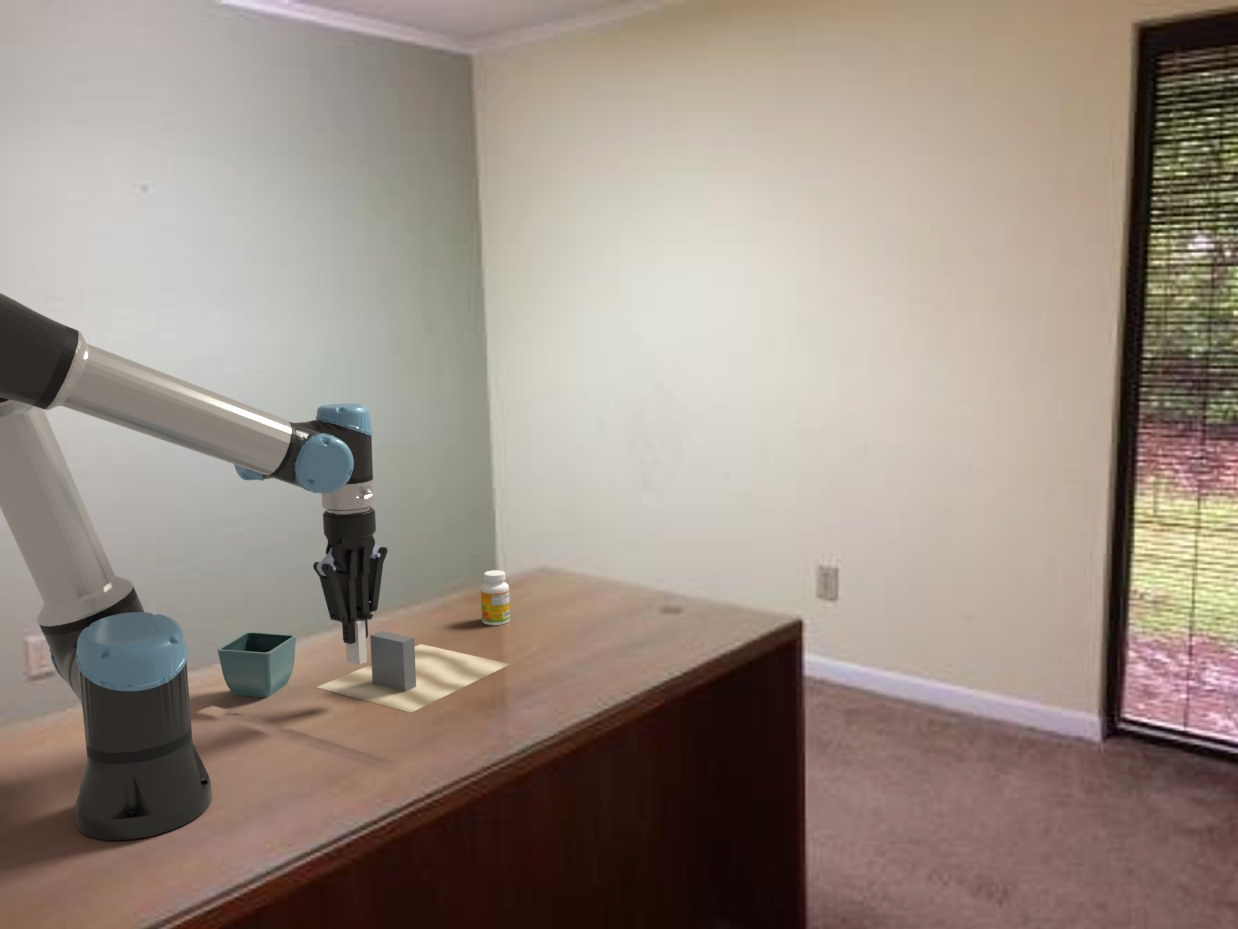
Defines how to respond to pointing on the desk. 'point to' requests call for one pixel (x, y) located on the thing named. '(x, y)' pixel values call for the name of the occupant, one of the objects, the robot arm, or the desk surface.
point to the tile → (393, 661)
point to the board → (418, 679)
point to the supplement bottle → (495, 598)
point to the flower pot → (258, 663)
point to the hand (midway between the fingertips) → (356, 661)
